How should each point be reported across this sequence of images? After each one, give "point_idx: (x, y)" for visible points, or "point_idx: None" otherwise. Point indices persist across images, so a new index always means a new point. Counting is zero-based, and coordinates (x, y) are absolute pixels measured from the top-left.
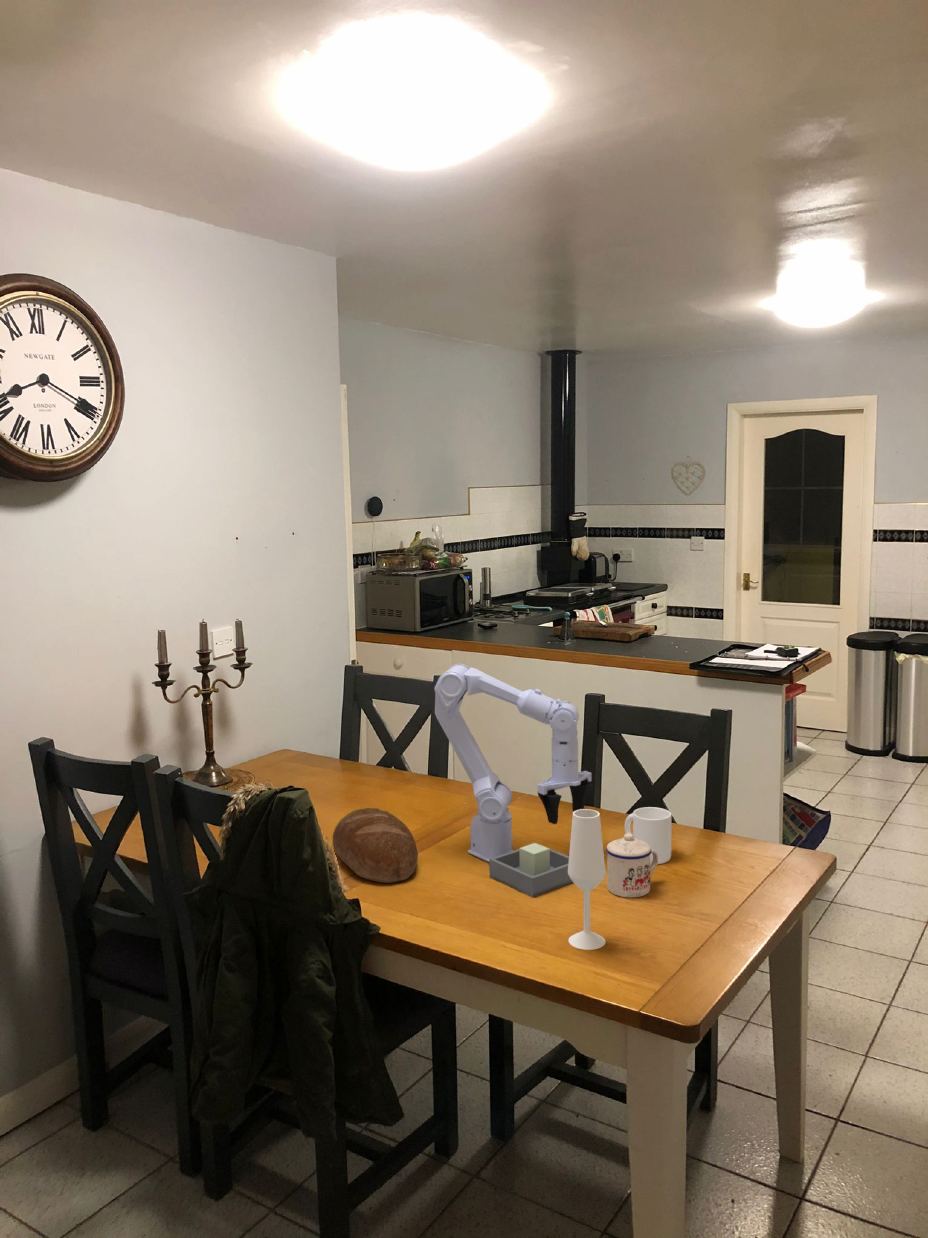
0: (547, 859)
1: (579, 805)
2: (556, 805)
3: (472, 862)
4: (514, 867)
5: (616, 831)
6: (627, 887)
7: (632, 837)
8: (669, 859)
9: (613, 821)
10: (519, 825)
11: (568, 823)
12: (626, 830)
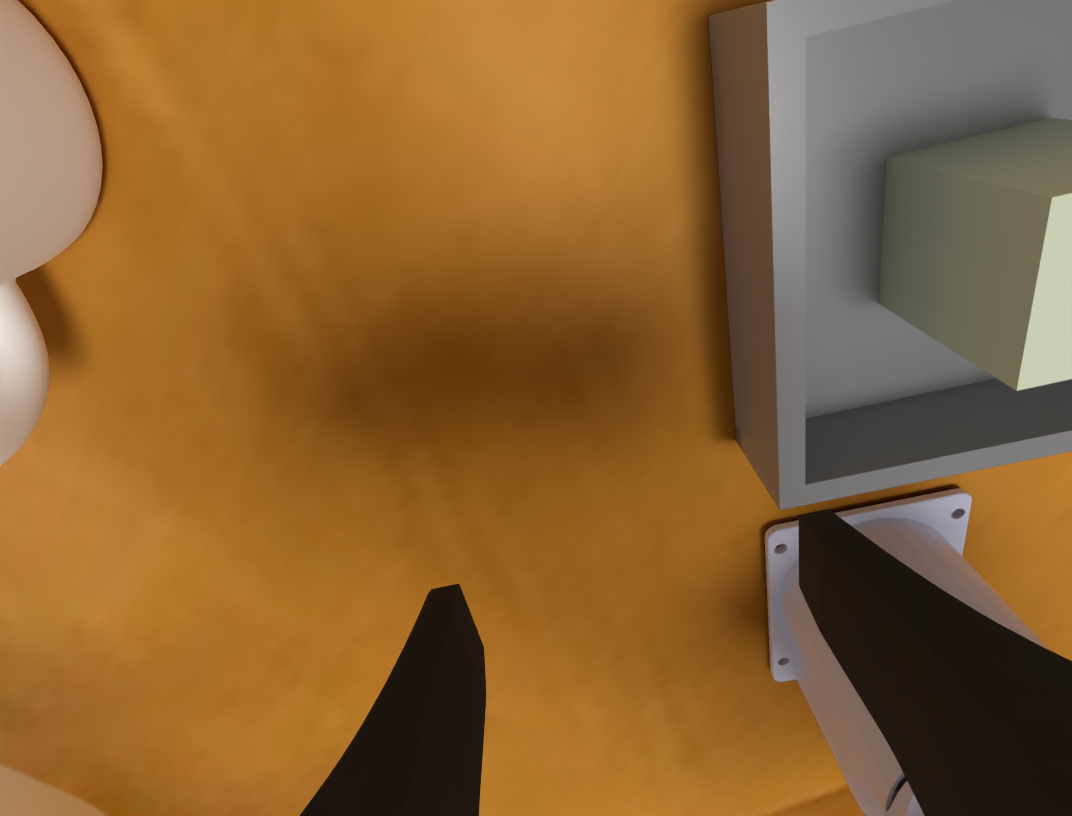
0: (1008, 172)
1: (447, 697)
2: (1021, 675)
3: (1005, 554)
4: (948, 390)
5: (78, 597)
6: None
7: None
8: None
9: (50, 697)
10: (530, 785)
11: (302, 743)
12: (14, 418)
